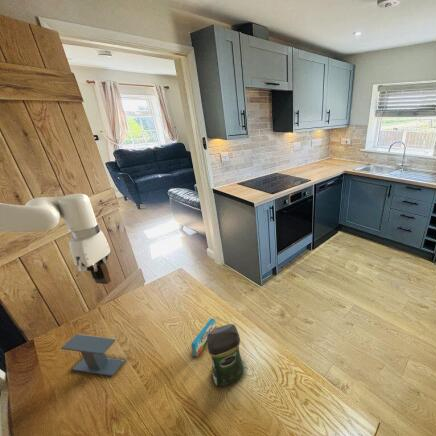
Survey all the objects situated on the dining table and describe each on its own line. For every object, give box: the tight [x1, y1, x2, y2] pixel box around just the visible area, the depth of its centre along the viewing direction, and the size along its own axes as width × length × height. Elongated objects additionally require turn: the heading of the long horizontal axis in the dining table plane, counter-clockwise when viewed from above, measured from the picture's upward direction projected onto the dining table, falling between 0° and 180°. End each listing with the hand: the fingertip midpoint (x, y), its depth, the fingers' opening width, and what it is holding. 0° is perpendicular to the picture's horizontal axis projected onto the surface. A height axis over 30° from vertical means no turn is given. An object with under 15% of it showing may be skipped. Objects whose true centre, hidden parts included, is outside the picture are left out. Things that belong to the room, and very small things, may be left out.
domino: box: [91, 262, 112, 285], centre depth 85 cm, size 4×2×8 cm, turn 84°
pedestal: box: [60, 333, 125, 377], centre depth 76 cm, size 14×5×11 cm, turn 83°
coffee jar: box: [206, 323, 245, 388], centre depth 73 cm, size 10×8×19 cm
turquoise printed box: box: [190, 317, 217, 357], centre depth 86 cm, size 12×2×6 cm, turn 164°
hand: (101, 276), depth 86 cm, fingers closed on domino, 2 cm apart
